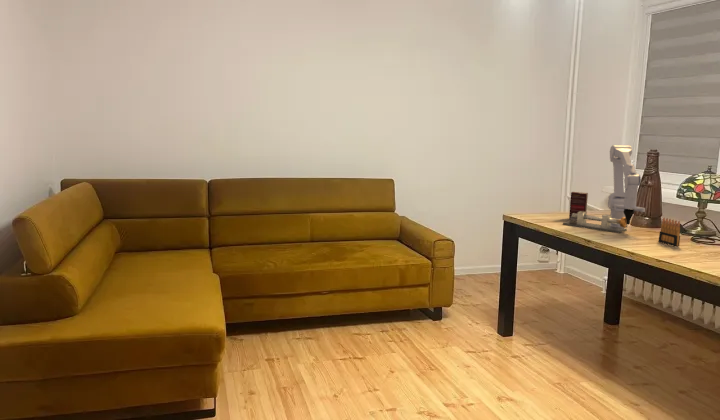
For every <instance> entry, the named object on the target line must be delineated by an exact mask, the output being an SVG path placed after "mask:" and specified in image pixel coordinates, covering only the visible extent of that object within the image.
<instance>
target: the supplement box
mask: <svg viewBox="0 0 720 420" xmlns="http://www.w3.org/2000/svg"><path fill="white" fill-rule="evenodd" d="M588 197H589V193H588V192H582V191H581V192H580V191H572V192H570V203H569V216H568V219H569V220H570V219H571V220H570V221H577V218H574V217H572V213H577V214H578V212H580V211H585V212H587V209H588Z"/></svg>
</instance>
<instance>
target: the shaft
mask: <svg viewBox="0 0 720 420" xmlns="http://www.w3.org/2000/svg"><path fill="white" fill-rule="evenodd" d="M577 215H578V214H577V213H572V217H574V218H577ZM583 219H586V220H589V221H595V222H602V216H596V215H589V214H587V215H584V218H583ZM608 223H615V224H620V226H621V227H623V228H626V227H628V226H627V225H628V224H626V218H624V217H622V218H621V220H620V219H613V218H608Z"/></svg>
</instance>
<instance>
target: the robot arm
mask: <svg viewBox="0 0 720 420" xmlns="http://www.w3.org/2000/svg"><path fill="white" fill-rule="evenodd" d="M632 153H633V148H632V146H631V145H616V144H612V145H611V146H610V149H609V160H610V161H609V162H612V166H613V167H612V168H613V169H612V170H613V171H612V172H613V192H612V193H611V194H610V195H609V196H608V200H607V207H608V209H609V210H610V214H609V215H611V218H613V219H620V220H621V218H622V217H624V218H626V224H627V226H626V227H628V225H630V223H631V219H632V217H633V216H634V214H635V212H640V213H645V212H646V207H641V206H637V199H638V198H637V197H638V190H639V189H638V188H639V186H640V185H641V182H642V178H641V175H640V174H639V173H637V171H636V167H635V165H634V164H632V159H631V156H632ZM611 226H612V227H618V228H624V227H621V226H620V224H615V223H611Z"/></svg>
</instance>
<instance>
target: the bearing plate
mask: <svg viewBox="0 0 720 420" xmlns="http://www.w3.org/2000/svg"><path fill="white" fill-rule="evenodd" d="M584 215H588V212H587V211H586V212H585V211H580V212H578V215H577V220H568V221H564V222H562V225H566V226H569V227H570V226H572V227H577V228H578V227H579V228H584V229H591V230H597V231H603V232H610V233H615V234H621V233H624V232H627V230H628V229H627V228H626V227H623V228H618V227H612V226H611V223H608V218H611V215H610V214H606V213H605V214H602V215H601V217H602V221H600V222H601V223H600V224H597V223H589V222H587V219H583V218H584Z"/></svg>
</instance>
